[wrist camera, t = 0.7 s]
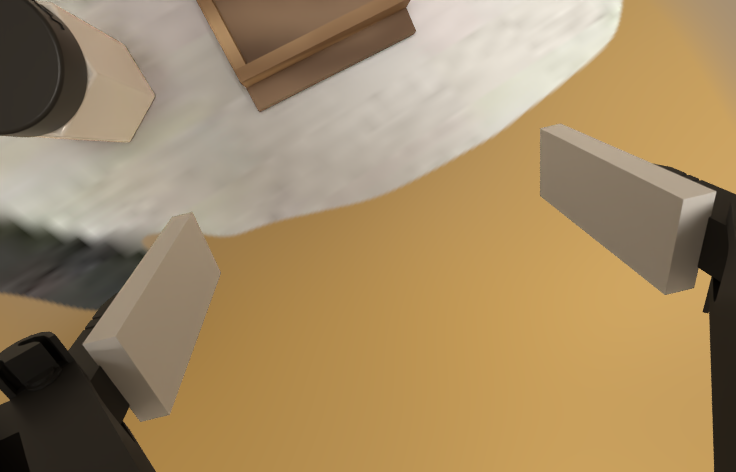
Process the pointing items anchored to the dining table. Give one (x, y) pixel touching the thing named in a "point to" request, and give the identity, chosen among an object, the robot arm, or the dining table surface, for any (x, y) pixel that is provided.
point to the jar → (65, 77)
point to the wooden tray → (301, 39)
